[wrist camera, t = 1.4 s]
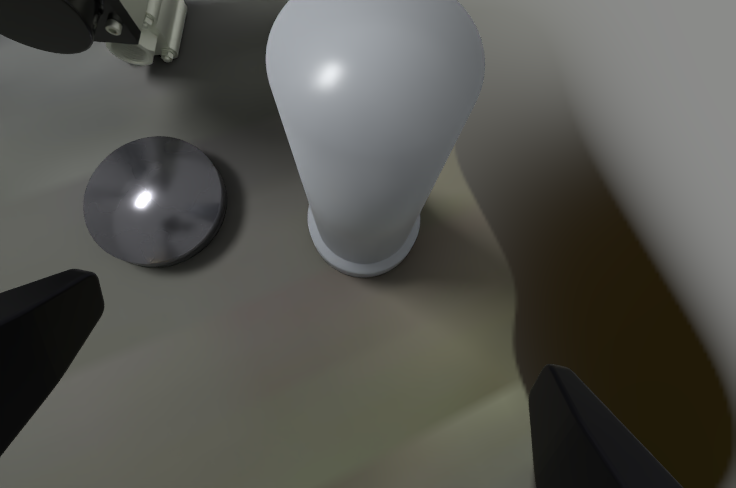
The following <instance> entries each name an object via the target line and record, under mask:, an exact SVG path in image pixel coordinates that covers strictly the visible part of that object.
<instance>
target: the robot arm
mask: <svg viewBox="0 0 736 488" xmlns="http://www.w3.org/2000/svg"><path fill="white" fill-rule="evenodd" d="M103 311H104V300H103V296H102V291H101V287H100V283H99V279H98V277H97V275H96V274H95V273H93V272H90V271H85V270H80V269H70V270H67V271H64V272H61V273H58V274H55V275H52V276H49V277H46V278H43V279H40V280H37V281H35V282H32V283H29V284H26V285H23V286H20V287H17V288H14V289H11V290H8V291H5V292H2V293H0V456H1V455H2V454H3V453H4V451H5V450H6V449H7V448H8V446H9V445H10V444H11V442H12V441H13V440H14V439H15V437H16V436H17V435H18V434H19V432H20V431H21V430H22V429H23V427H24V426H25V425H26V423H27V422H28V421H29V420H30V418H31V417H32V416H33V415H34V413H35V412H36V411H37V409H38V408H39V407H40V406H41V404H42V403H43V402H44V401H45V399H46V398H47V397H48V396H49V394H50V393H51V392H52V390H53V389H54V388H55V386H56V385H57V384H58V382H59V381H60V379H61V378H62V376H63V375H64V373H65V372H66V371H67V369H68V367H69V366H70V364H71V363H72V361H73V360H74V358H75V356H76V355H77V353H78V352H79V350H80V349H81V347H82V346H83V344H84V342H85V341H86V339H87V338H88V336H89V335H90V333H91V331H92V330H93V328H94V327H95V325H96V324H97V322H98V321H99V319H100V317H101V316H102V313H103ZM529 413H530V425H531V438H532V451H533V463H534V473H535V482H536V487H537V488H683V487H682V486H681V485H680V484H679V483H678V482H677V481H676V480H675V479H674V478H673V477H672V476H671V474H669V472H668V471H667V470H666V469H665V468H664V467H663V466H662V465H661V464H660V463H659V462H658V461H657V460H656V459H655V458H654V457H653V456H652V455H651V453H649V451H648V450H647V449H646V448H645V447H644V446H643V445H642V444H641V443H640V442H639V441H638V440H637V439H636V438H635V437H634V436H633V434H631V432H630V431H629V430H628V429H627V428H626V427H625V426H624V425H623V424H622V423H621V422H620V421H619V420H618V419H617V418H616V417H615V416H614V414H613V413H612V412H611V411H610V410H609V409H608V408H607V407H606V406H605V405H604V404H603V403H602V402H601V401H600V400H599V399H598V398H597V397H596V396H595V394H593V392H592V391H591V390H590V389H589V388H588V387H587V386H586V385H585V384H584V383H583V382H582V381H581V380H580V379H579V378H578V377H577V376H576V374H575V373H574V372H572V371H571V370H570V369H569V368H567V367H563V366H558V365H553V364H547V365H546V366H544V368H543V369H542V371H541V373H540V374H539V376H538V378H537V380H536V381H535V383H534V385H533V387H532V389H531V391H530V394H529Z"/></svg>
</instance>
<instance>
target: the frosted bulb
mask: <svg viewBox="0 0 736 488" xmlns="http://www.w3.org/2000/svg"><path fill="white" fill-rule="evenodd" d="M266 69H267V75H268V79H269V84H270V87H271V90H272V93H273V96H274V99H275V102H276V105H277V108H278V111H279V114H280V117H281V120H282V123H283V126H284V129H285V132H286V135H287V138H288V141H289V144H290V147H291V150H292V153H293V156H294V159H295V162H296V165H297V168H298V171H299V175H300V178H301V181H302V184H303V187H304V190H305V193H306V196H307V199H308V202H309V209H308V227H309V231H310V235H311V237H312V240H313V242H314V245H315V247H316V249H317V251H318V253H319V254H320V256H321V257H322V258H323V259H324V260H325V262H326V263H327V264H329V265H330V266H331V267H332V268H334V269H335V270H337V271H339V272H341V273H343V274H346V275H349V276H353V277H374V276H378V275H381V274H384V273H386V272H388V271H390V270H392V269H393V268H395V267H396V266H397V265H399V264H400V263H401V262H402V261H403V260H404V258H405V257H406V256H407V254H408V253H409V251H410V249H411V248H412V246H413V244H414V242H415V240H416V238H417V235H418V232H419V228H420V212H421V210H422V208H423V206H424V204H425V202H426V200H427V198H428V196H429V194H430V192H431V190H432V188H433V186H434V184H435V182H436V180H437V178H438V176H439V174H440V172H441V170H442V168H443V166H444V164H445V162H446V160H447V158H448V156H449V154H450V152H451V150H452V148H453V146H454V144H455V142H456V141H457V139H458V136H459V135H460V132H461V131H462V129H463V127H464V125H465V123H466V121H467V119H468V117H469V115H470V113H471V111H472V109H473V107H474V105H475V103H476V101H477V98H478V96H479V93H480V91H481V88H482V84H483V79H484V71H485V58H484V49H483V44H482V40H481V37H480V35H479V32H478V30H477V27H476V25H475V24H474V22H473V20H472V18H471V16H470V15H469V14H468V12H467V11H466V10H465V8H464V7H463V6H462V5H461V4H460V3H459V2H458V1H457V0H289V1H288V2H287V4H286V5H285V6H284V7H283V9H282V10H281V11H280V13H279V15H278V16H277V18H276V20H275V22H274V24H273V26H272V29H271V31H270V34H269V38H268V43H267V48H266Z"/></svg>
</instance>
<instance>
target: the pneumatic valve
mask: <svg viewBox="0 0 736 488" xmlns="http://www.w3.org/2000/svg"><path fill="white" fill-rule="evenodd" d="M186 14H187V6H186V4H185V3H184V0H0V34H1V35H3V36H5V37H7V38H10V39H12V40H14V41H17V42H19V43H22V44H24V45H27V46H30V47H33V48H36V49H40V50H43V51H48V52H53V53H60V54H75V53H80V52H83V51H86V50H87V49H89V48H90V47H91V45H92V44H93V41H97V42H106V47H107V48H108V49H109V51H110V52H111V53H112V54H114V55H115V56H116V57H118V58H119V59H121V60H123V61H125V62H128V63H131V64H134V65H141V66H144V65H150V64H152V63H153V58H154V55H161V58H162V59H163V60H164V61H165V62H172V60H173V59H175V58H177V57H178V53H179V48H180V43H181V38H182V33H183V28H184V23H185V18H186Z"/></svg>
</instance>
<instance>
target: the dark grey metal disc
mask: <svg viewBox="0 0 736 488" xmlns="http://www.w3.org/2000/svg"><path fill="white" fill-rule="evenodd" d="M226 205H227V194H226V188H225V184H224V182H223V179H222V177H221V175H220V173H219V171H218V170H217V169H216V167H215V166H214V165H213V163H212V162H211V161H210V160H209V158H208V157H207V156H206V155H205V154H204V153H203V152H202V151H201V150H199V149H198V148H197V147H195V146H193V145H192V144H190V143H188V142H185V141H183V140H180V139H176V138H172V137H161V136H156V137H147V138H142V139H138V140H135V141H132V142H130V143H127V144H125V145H123V146H121V147H120V148H118V149H116V150H115V151H114V152H112V153H111V154H110V155H108V156H107V157H106V158H105V159H104V160H103V161H102V162H101V163H100V165H99V166H98V167H97V168H96V170H95V171H94V173H93V175H92V176H91V178H90V180H89V183H88V185H87V188H86V191H85V196H84V205H83V210H84V218H85V222H86V226H87V228H88V230H89V232H90V234H91V236H92V237H93V239H94V240H95V241H96V243H97V244H98V245H99V246H100V247H101V248H102V249H104V250H105V251H106V252H107V253H109V254H111V255H112V256H114V257H116V258H119V259H121V260H124V261H126V262H129V263H132V264H136V265H139V266H144V267H165V266H170V265H175V264H178V263H180V262H183V261H185V260H187V259H189V258H191V257H193V256H194V255H196V254H197V253H199V252H200V251H201V250H203V249H204V248H205V247H206V246H207V245H208V244H209V243H210V242H211V241H212V239H213V238H214V237H215V235H216V234H217V232H218V230H219V229H220V227H221V225H222V222H223V219H224V216H225V212H226Z"/></svg>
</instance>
